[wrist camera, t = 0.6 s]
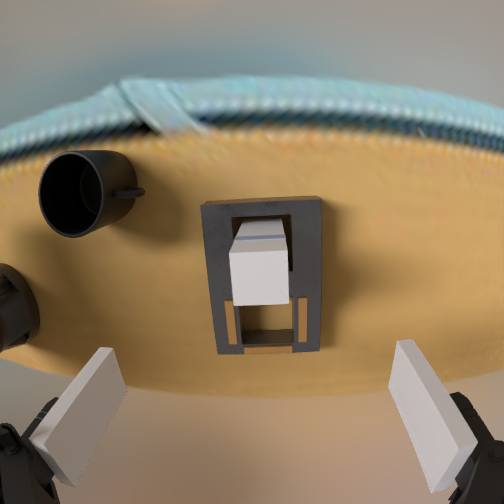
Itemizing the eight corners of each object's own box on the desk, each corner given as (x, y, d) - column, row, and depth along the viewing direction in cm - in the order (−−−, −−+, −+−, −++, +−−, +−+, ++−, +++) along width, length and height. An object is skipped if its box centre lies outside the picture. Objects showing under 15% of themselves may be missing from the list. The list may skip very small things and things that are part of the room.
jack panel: (221, 340, 43) (217, 355, 39) (206, 201, 38) (199, 205, 34) (316, 337, 42) (319, 352, 38) (316, 195, 37) (321, 199, 33)
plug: (245, 256, 39) (233, 306, 26) (243, 219, 38) (228, 252, 25) (283, 254, 39) (289, 304, 26) (281, 217, 38) (288, 249, 24)
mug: (155, 226, 39) (126, 245, 30) (78, 219, 39) (39, 234, 31) (160, 151, 36) (129, 150, 28) (79, 150, 37) (38, 152, 28)
